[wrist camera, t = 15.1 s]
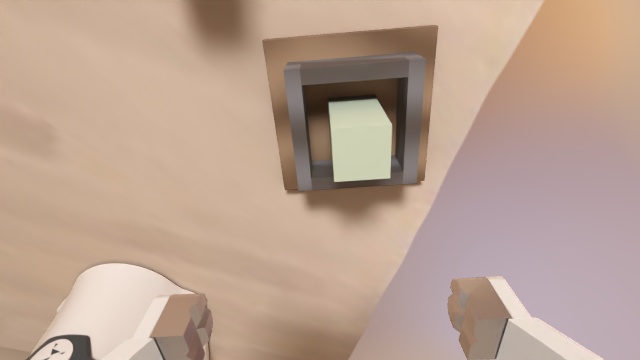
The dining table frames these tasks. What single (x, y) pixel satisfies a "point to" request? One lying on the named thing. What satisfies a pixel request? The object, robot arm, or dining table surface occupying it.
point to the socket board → (349, 80)
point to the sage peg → (359, 138)
